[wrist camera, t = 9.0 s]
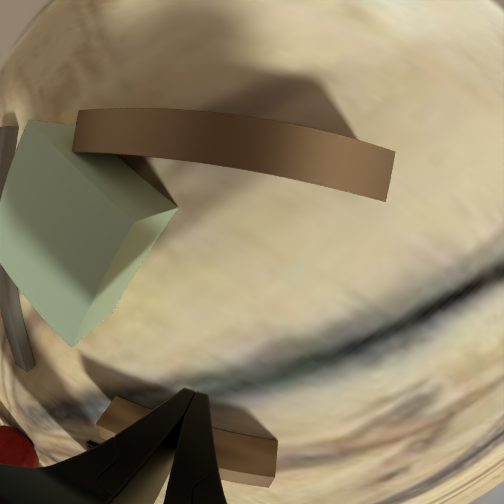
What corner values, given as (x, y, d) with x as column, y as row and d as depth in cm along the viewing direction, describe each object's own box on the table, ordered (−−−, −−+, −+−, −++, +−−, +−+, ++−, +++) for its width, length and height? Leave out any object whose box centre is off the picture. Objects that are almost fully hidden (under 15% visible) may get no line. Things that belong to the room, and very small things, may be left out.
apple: (25, 448, 25) (-5, 485, 14) (-8, 403, 23) (-45, 441, 12) (63, 470, 24) (32, 517, 13) (25, 424, 21) (-17, 474, 10)
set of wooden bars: (24, 357, 16) (3, 374, 14) (7, 128, 11) (-25, 128, 9) (272, 452, 15) (268, 487, 12) (367, 157, 10) (395, 151, 7)
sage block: (38, 231, 13) (-10, 248, 9) (84, 127, 11) (28, 119, 7) (114, 310, 14) (71, 348, 10) (180, 207, 12) (134, 221, 8)
